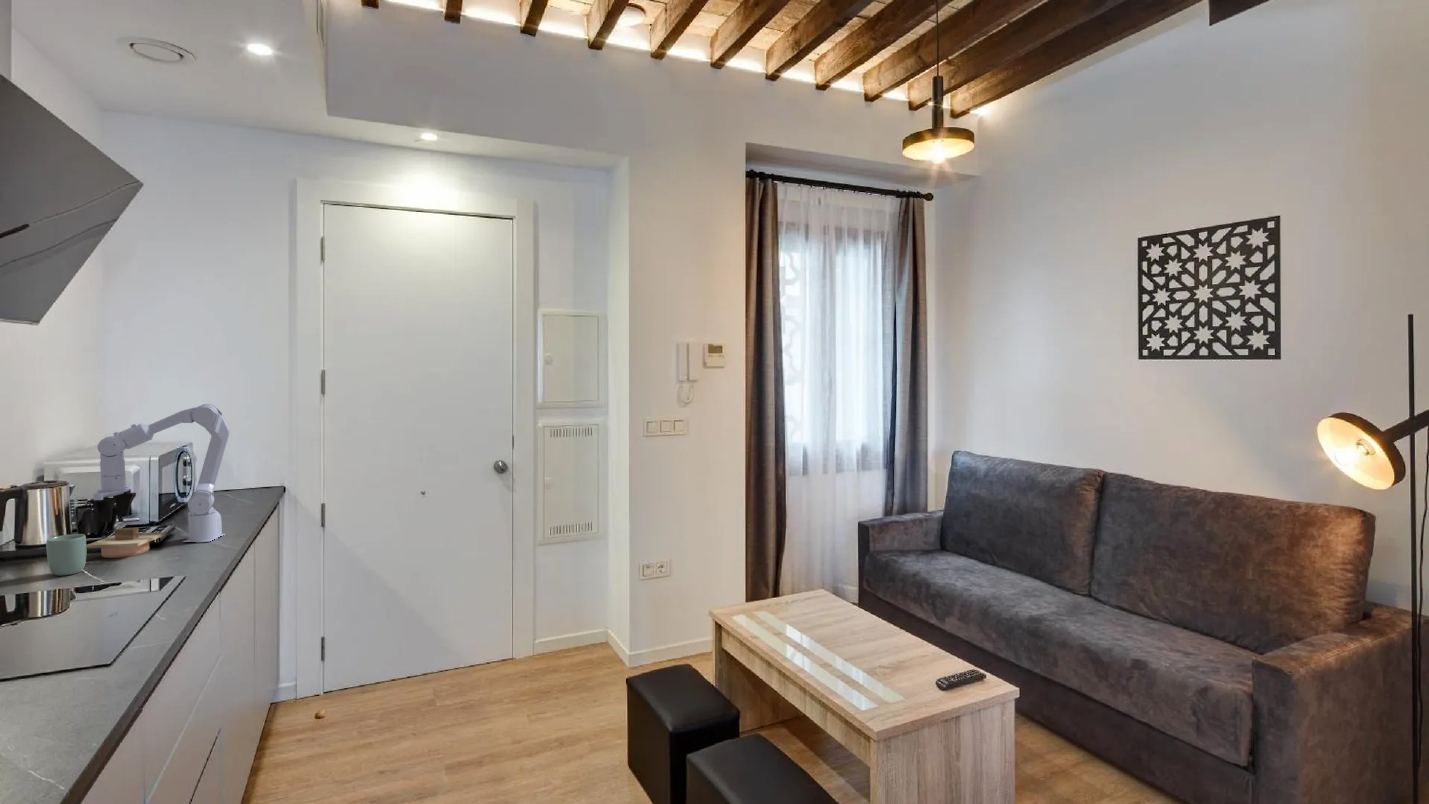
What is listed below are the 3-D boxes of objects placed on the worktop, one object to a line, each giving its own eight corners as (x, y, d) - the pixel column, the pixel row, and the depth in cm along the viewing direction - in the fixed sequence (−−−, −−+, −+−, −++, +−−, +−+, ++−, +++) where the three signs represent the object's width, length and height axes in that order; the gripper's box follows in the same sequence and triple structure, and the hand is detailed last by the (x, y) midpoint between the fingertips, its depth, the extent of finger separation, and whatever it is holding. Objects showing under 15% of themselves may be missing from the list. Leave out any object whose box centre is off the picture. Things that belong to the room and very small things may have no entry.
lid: (116, 536, 214) (116, 524, 214) (165, 535, 216) (165, 523, 216) (85, 548, 201) (84, 535, 200) (137, 546, 203) (137, 533, 203)
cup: (55, 571, 190) (53, 535, 189) (92, 568, 193) (90, 532, 192) (42, 579, 182) (40, 542, 182) (80, 575, 186) (78, 539, 185)
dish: (117, 548, 213) (117, 537, 213) (157, 547, 215) (157, 536, 215) (92, 558, 202) (91, 546, 202) (134, 556, 204) (134, 545, 204)
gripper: (114, 472, 218) (116, 514, 218) (80, 479, 203) (83, 525, 204) (139, 471, 219) (141, 513, 220) (108, 478, 205) (110, 524, 205)
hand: (115, 519), depth 212 cm, fingers open, 7 cm apart
